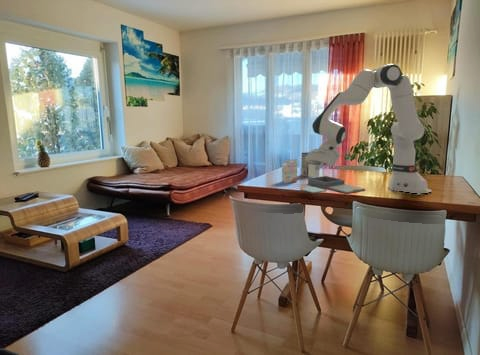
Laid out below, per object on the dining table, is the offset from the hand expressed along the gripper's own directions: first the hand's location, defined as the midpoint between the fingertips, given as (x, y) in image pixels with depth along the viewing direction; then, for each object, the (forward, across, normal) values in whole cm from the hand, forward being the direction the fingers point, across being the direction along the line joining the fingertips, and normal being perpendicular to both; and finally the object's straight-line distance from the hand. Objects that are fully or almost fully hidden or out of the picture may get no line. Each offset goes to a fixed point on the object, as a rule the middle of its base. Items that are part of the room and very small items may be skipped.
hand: (313, 168), depth 189 cm
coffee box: (-13, -36, +31) cm, 49 cm away
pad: (+8, 0, +9) cm, 12 cm away
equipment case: (-4, +1, +21) cm, 22 cm away
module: (+3, 0, +4) cm, 4 cm away
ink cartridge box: (+6, -26, +12) cm, 29 cm away
